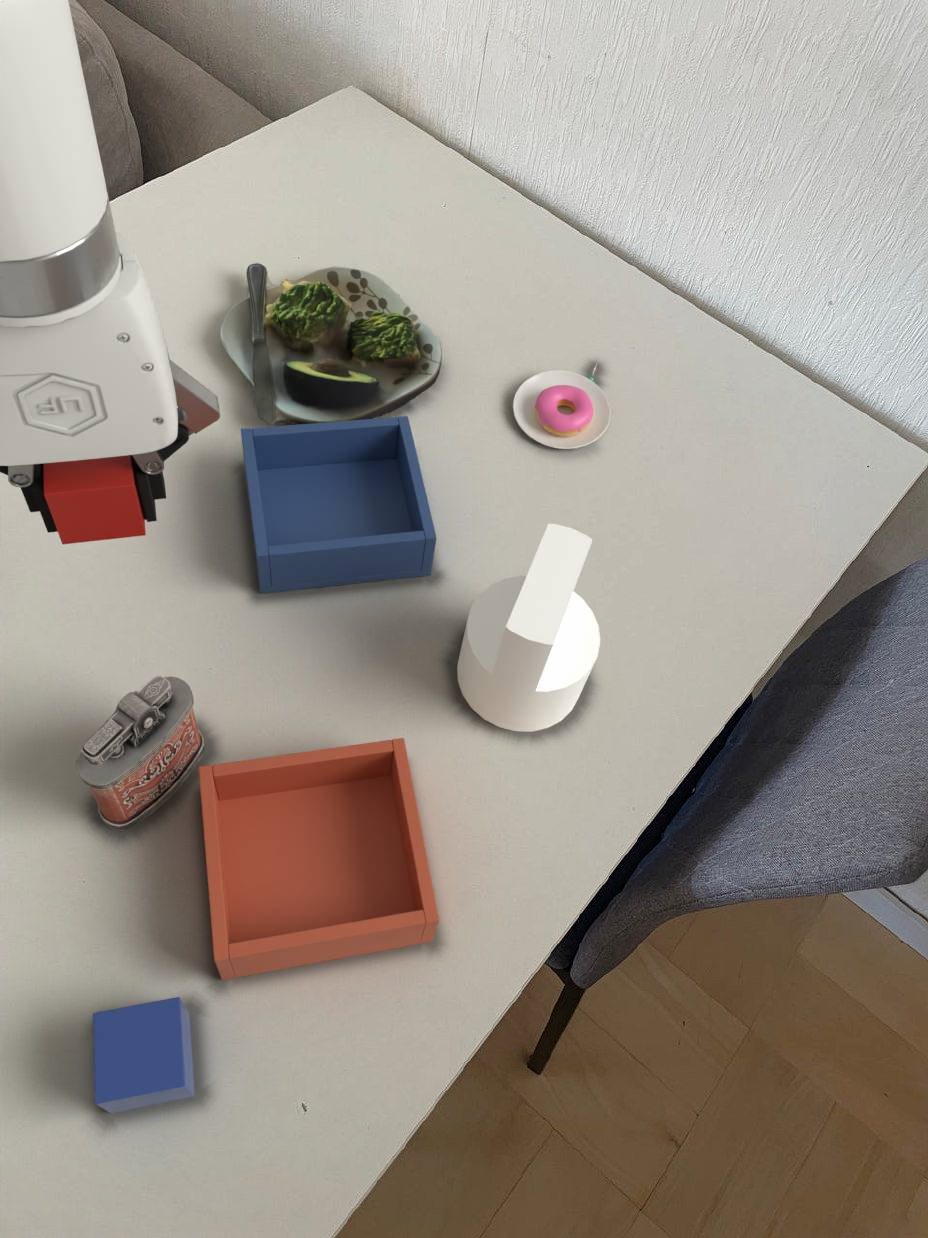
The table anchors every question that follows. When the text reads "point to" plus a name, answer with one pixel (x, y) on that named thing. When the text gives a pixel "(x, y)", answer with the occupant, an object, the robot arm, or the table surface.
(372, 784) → the terracotta bin
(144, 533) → the red block
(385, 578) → the blue bin
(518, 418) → the donut
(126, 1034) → the blue block
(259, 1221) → the table surface
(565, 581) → the cylinder with rectangular tab
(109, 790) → the lighter
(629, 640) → the table surface
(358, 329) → the salad plate
